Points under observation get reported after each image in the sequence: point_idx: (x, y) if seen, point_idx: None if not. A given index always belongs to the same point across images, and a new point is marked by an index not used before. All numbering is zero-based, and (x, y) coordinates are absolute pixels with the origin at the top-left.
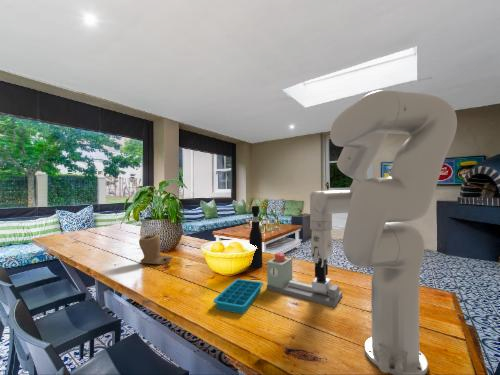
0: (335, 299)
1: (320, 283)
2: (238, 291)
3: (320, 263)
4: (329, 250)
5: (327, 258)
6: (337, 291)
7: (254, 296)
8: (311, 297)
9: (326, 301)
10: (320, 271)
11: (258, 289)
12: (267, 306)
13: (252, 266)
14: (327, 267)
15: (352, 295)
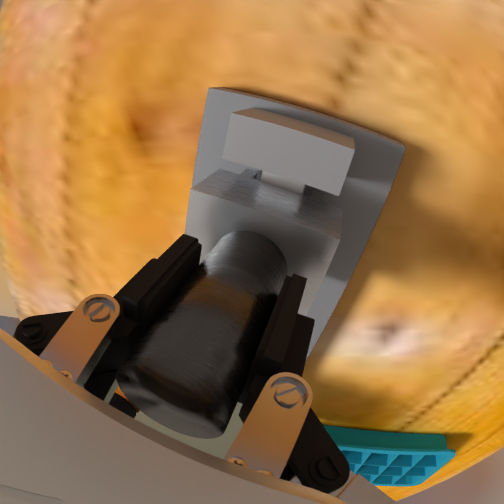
0: (355, 136)
1: (322, 277)
2: (357, 469)
3: (298, 443)
4: (27, 493)
5: (65, 334)
6: (289, 122)
7: (361, 437)
8: (349, 276)
9: (385, 195)
10: (306, 355)
11: (338, 445)
12: (412, 403)
13: (134, 416)
14: (151, 274)
15: (195, 32)
